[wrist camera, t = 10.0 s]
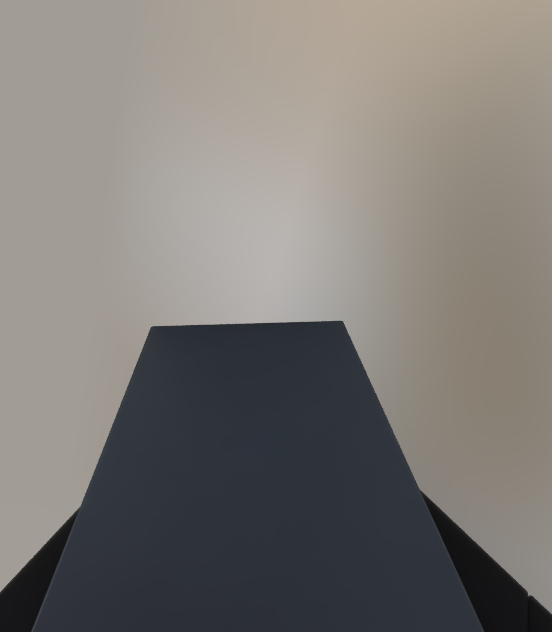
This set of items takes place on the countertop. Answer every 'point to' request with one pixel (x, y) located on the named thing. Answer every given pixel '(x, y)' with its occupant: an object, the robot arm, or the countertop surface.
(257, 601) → the block
